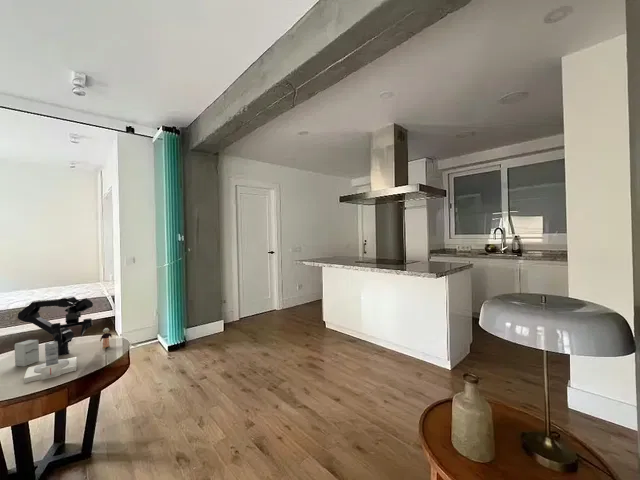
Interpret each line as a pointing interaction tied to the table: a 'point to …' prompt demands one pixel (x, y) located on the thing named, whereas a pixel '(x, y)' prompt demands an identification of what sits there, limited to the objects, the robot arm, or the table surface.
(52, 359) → the steel spacer stack
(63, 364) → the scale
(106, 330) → the grandmother figurine
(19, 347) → the supplement box
